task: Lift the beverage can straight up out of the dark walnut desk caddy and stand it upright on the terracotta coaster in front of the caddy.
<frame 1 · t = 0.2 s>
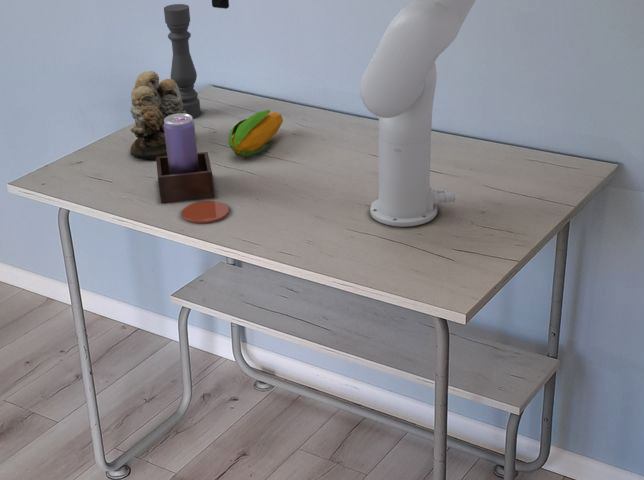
hand: (233, 0, 186), 37 cm above the table, tool pointing down, fingers open, 9 cm apart
candle holder: (187, 115, 243), on the table
caddy: (186, 189, 207), on the table
corn: (258, 147, 225), on the table
beverage can: (186, 190, 208), resting in caddy
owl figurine: (161, 148, 227), on the table
coaster: (205, 213, 198), on the table
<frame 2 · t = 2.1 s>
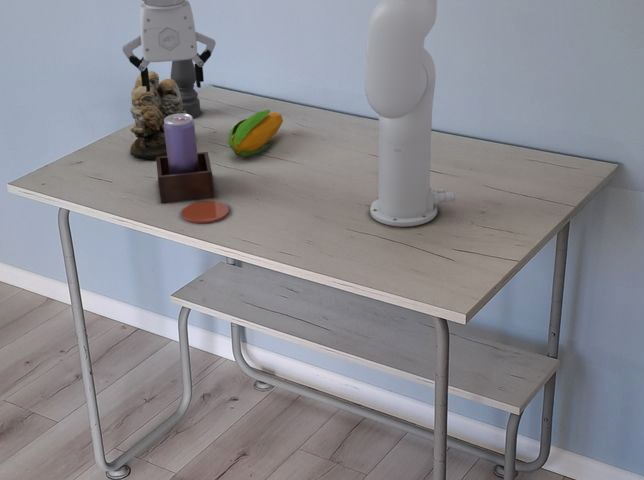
hand: (173, 87, 196), 21 cm above the table, tool pointing down, fingers open, 9 cm apart
nothing on the table moved.
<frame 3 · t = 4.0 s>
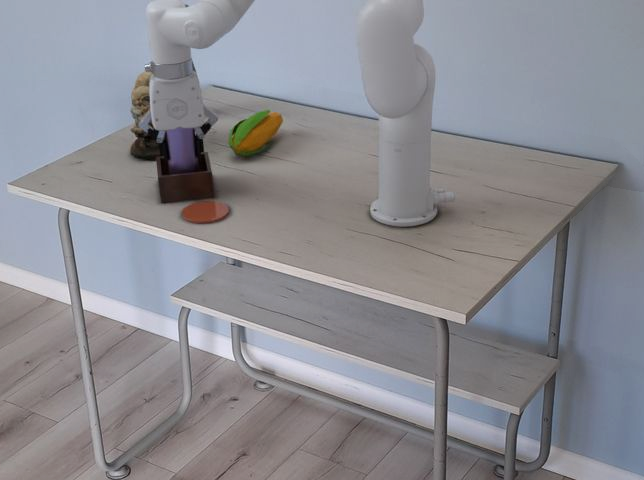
hand: (182, 156, 204), 7 cm above the table, tool pointing down, fingers closed on beverage can, 6 cm apart
beverage can: (186, 190, 208), resting in caddy, touching gripper
everything else where it was.
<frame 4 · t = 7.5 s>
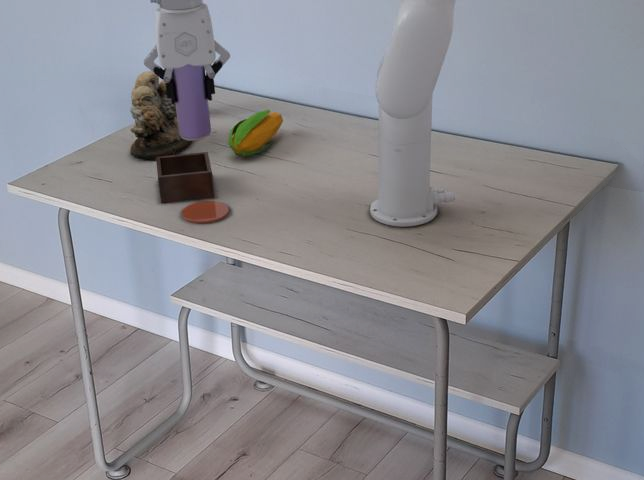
hand: (191, 98, 187), 22 cm above the table, tool pointing down, fingers closed on beverage can, 6 cm apart
beverage can: (195, 136, 191), point 15 cm above the table, touching gripper
everything else where it was.
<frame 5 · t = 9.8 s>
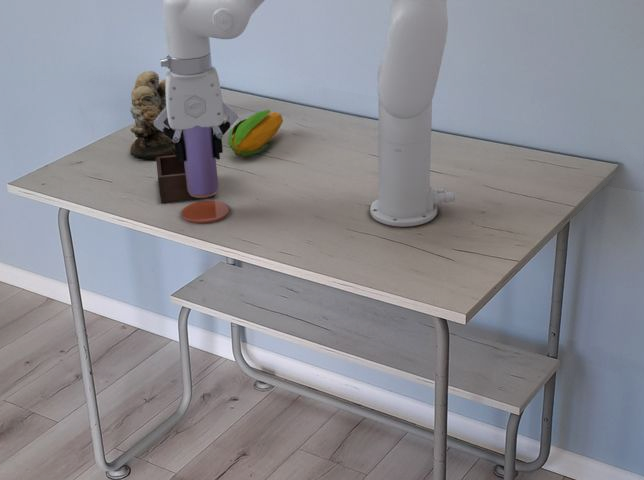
hand: (199, 157, 191), 11 cm above the table, tool pointing down, fingers closed on beverage can, 6 cm apart
beverage can: (203, 193, 195), point 4 cm above the table, touching gripper
everything else where it was.
when the fingers open (8 cm above the table, at t = 11.2 s): beverage can stays where it is, resting on coaster.
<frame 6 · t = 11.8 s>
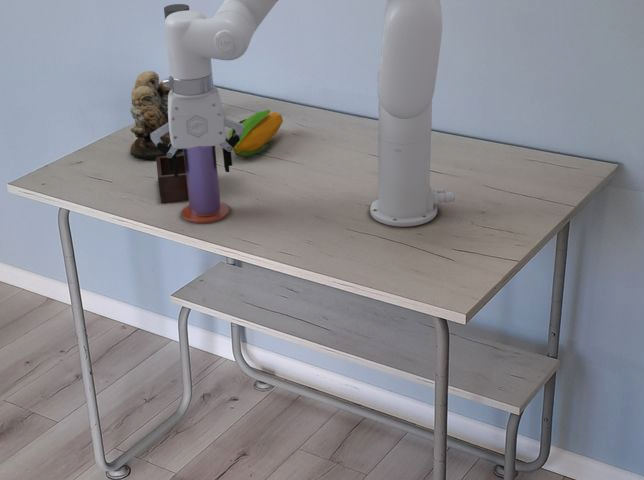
hand: (201, 172, 193), 9 cm above the table, tool pointing down, fingers open, 9 cm apart
beverage can: (205, 211, 198), resting on coaster
everything else where it was.
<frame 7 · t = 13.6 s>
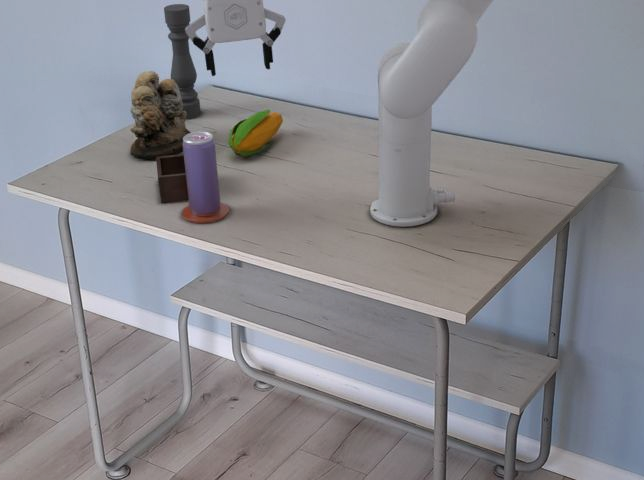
hand: (240, 70, 180), 28 cm above the table, tool pointing down, fingers open, 9 cm apart
nothing on the table moved.
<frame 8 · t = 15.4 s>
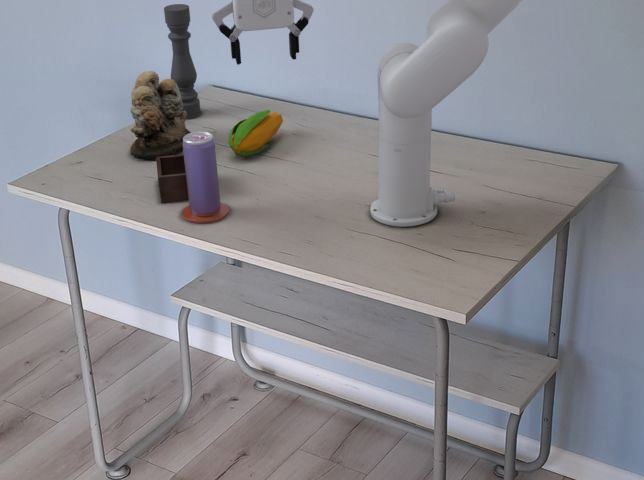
hand: (265, 59, 178), 30 cm above the table, tool pointing down, fingers open, 9 cm apart
nothing on the table moved.
at the end: beverage can 0.1 cm off-centre on the coaster, point 0.3 cm above the coaster's base; beverage can tilted 0°; beverage can touching coaster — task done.
